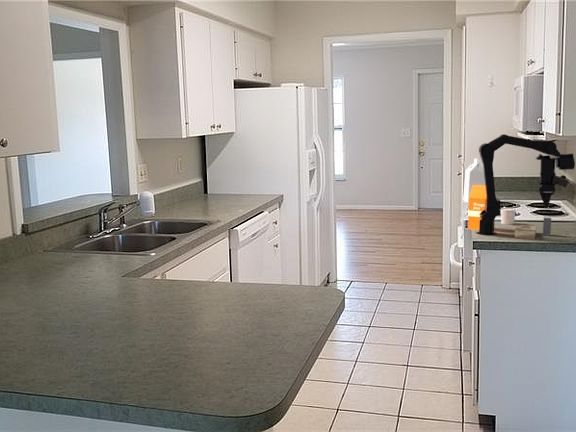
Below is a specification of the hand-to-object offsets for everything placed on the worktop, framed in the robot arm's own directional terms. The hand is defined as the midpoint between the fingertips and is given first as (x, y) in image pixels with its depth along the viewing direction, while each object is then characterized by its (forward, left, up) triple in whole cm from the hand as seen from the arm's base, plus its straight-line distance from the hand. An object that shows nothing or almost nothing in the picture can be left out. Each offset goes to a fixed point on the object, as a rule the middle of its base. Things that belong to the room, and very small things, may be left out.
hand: (546, 206), depth 272 cm
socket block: (-7, +5, -13) cm, 15 cm away
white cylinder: (+13, +28, -13) cm, 33 cm away
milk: (+66, +87, -13) cm, 110 cm away
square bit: (0, -1, -13) cm, 13 cm away
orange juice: (-8, +28, -13) cm, 32 cm away
